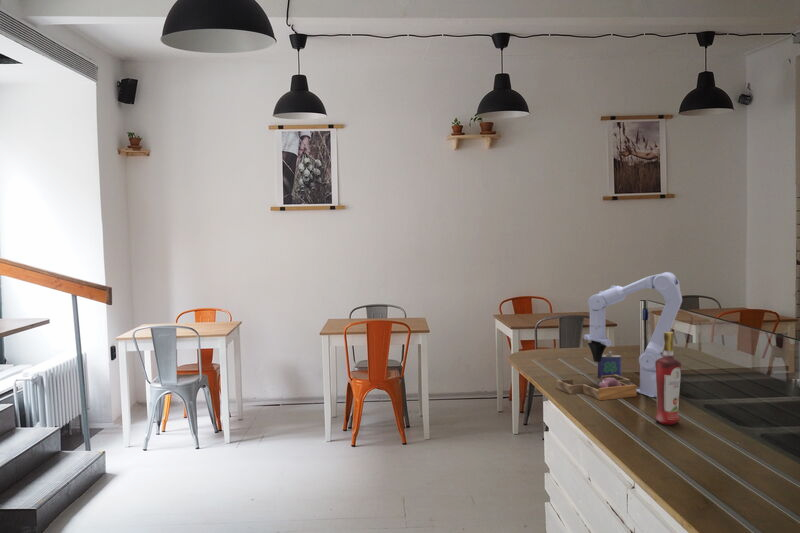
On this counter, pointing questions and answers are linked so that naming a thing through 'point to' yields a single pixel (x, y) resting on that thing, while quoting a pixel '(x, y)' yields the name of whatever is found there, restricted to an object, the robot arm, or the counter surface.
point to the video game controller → (609, 383)
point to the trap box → (602, 393)
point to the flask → (609, 365)
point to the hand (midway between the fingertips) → (597, 361)
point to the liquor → (668, 383)
